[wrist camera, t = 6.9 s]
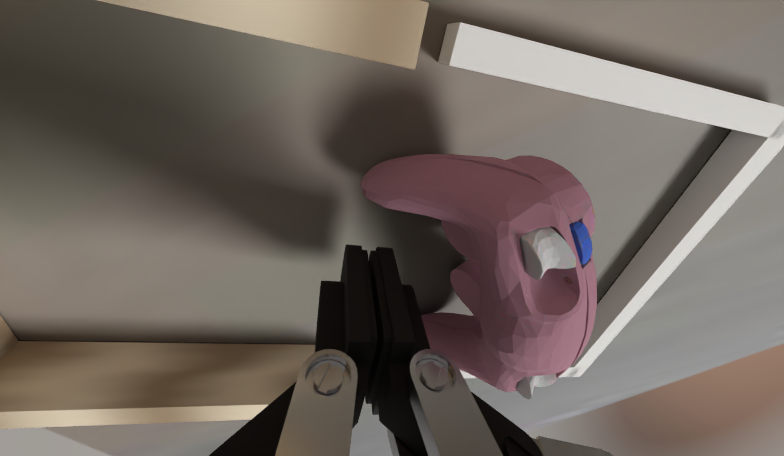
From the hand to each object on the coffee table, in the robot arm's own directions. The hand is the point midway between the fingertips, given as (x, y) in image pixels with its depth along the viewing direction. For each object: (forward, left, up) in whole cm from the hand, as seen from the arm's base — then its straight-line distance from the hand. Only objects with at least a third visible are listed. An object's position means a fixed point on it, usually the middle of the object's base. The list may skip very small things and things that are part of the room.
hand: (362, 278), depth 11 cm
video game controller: (-4, -1, -2) cm, 5 cm away
